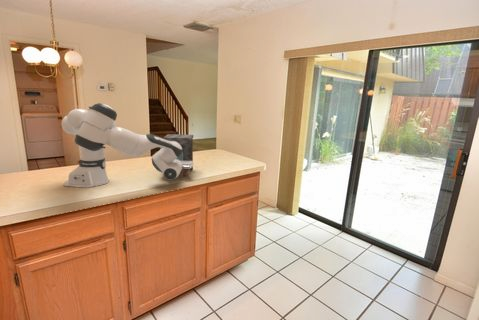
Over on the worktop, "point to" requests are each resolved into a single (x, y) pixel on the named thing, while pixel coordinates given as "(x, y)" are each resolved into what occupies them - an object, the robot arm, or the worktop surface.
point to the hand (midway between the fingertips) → (178, 161)
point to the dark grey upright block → (184, 149)
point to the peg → (180, 158)
